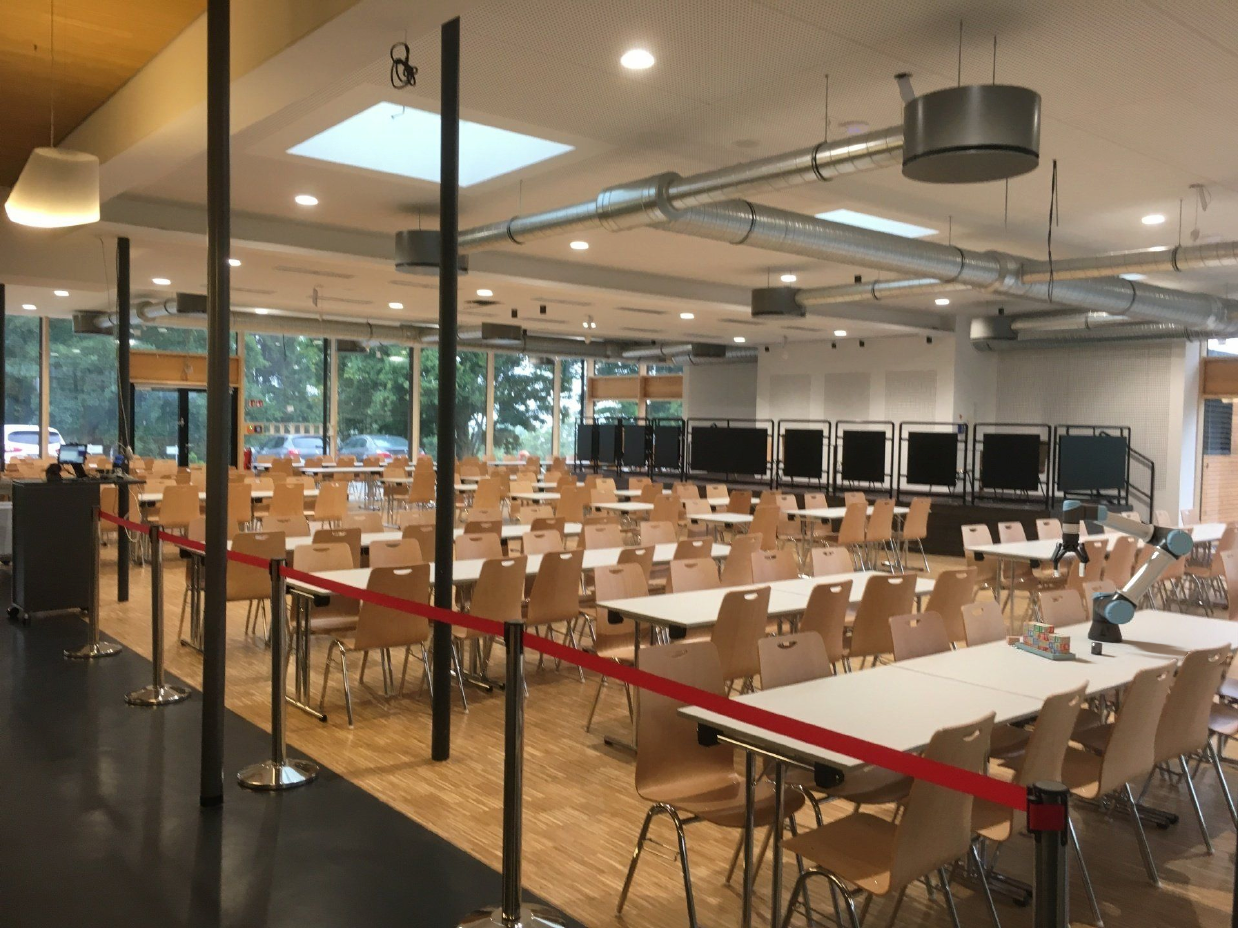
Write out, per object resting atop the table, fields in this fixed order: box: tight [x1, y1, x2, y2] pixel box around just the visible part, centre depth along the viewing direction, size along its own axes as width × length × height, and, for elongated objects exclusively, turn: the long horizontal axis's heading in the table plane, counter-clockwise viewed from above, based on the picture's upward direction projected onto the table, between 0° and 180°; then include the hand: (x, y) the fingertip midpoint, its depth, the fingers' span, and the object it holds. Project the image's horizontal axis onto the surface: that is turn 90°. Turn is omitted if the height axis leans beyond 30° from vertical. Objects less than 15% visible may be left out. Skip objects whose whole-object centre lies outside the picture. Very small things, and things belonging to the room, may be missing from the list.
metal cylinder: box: [1090, 641, 1103, 656], centre depth 445 cm, size 4×4×5 cm
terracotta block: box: [1005, 635, 1021, 646], centre depth 462 cm, size 5×4×4 cm
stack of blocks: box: [1022, 621, 1071, 654], centre depth 443 cm, size 21×6×12 cm, turn 23°
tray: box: [1014, 641, 1077, 661], centre depth 444 cm, size 12×27×2 cm, turn 13°
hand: (1069, 576), depth 470 cm, fingers open, 13 cm apart
